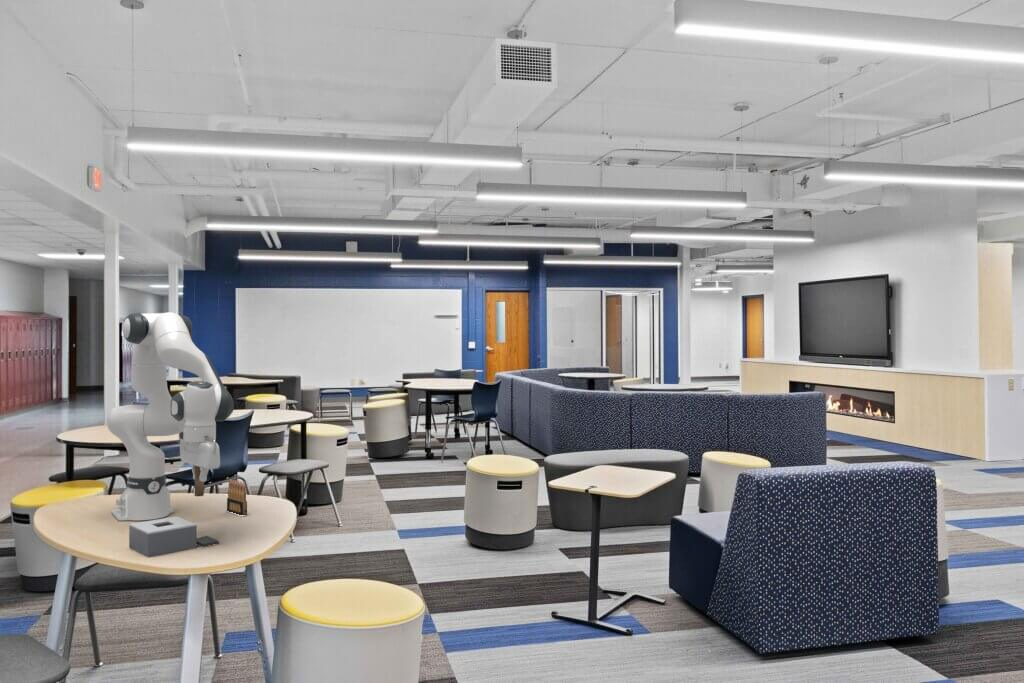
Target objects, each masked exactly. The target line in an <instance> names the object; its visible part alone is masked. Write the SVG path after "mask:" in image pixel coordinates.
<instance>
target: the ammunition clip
mask: <svg viewBox="0 0 1024 683" xmlns="http://www.w3.org/2000/svg"><path fill="white" fill-rule="evenodd" d="M227 511H229V512H233V513H236V514H239V515H247V516H248V501H247V491H246V483H245V481H243V482H242V481H240V480H236V479H235V480H234V479H232V478H230V479H229V481H228V491H227V498H226V512H227Z"/></svg>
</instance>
